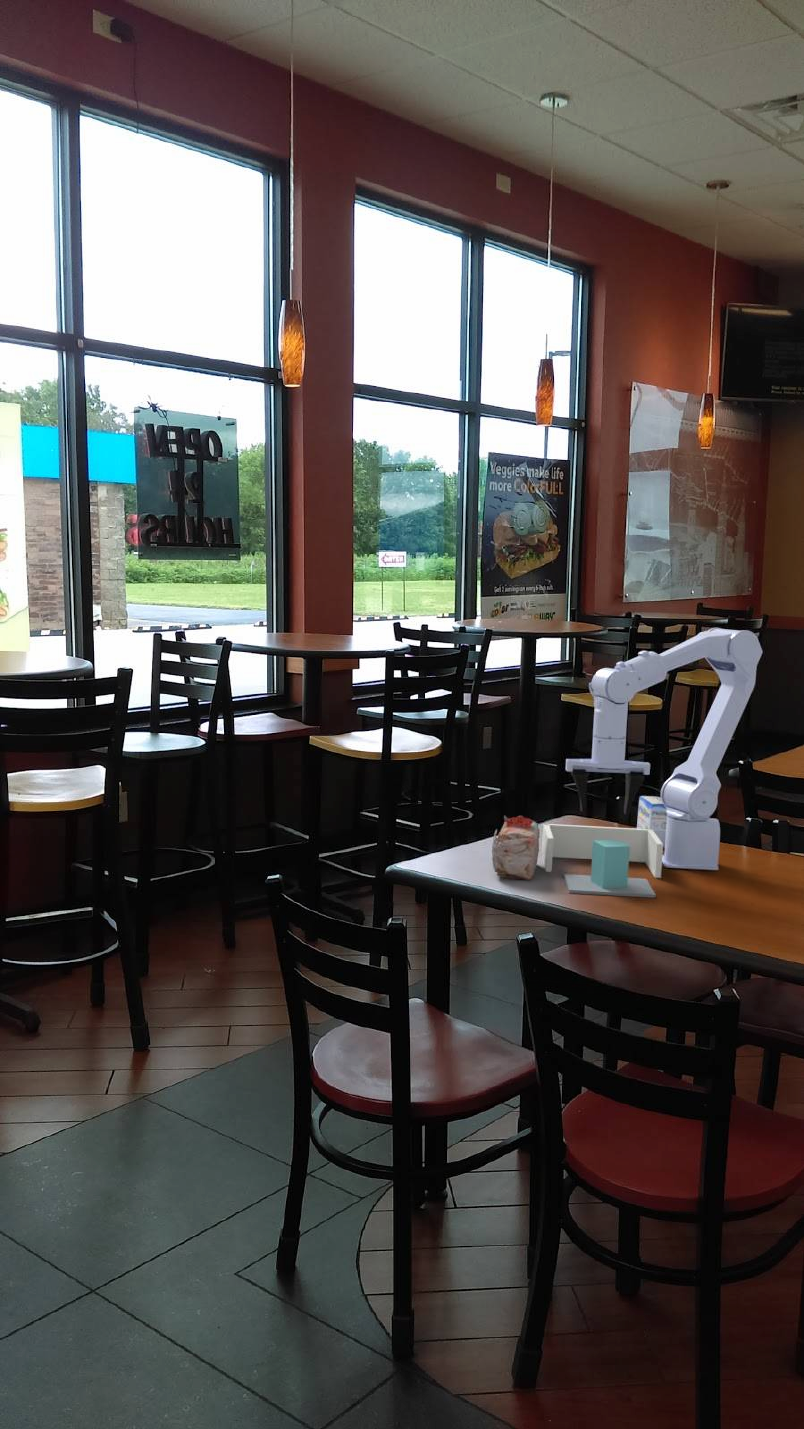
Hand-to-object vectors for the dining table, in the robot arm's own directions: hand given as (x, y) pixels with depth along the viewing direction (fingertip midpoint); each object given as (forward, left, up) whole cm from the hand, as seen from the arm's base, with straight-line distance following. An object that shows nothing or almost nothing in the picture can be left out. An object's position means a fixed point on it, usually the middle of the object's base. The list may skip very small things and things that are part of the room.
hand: (604, 812), depth 200 cm
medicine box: (-13, -24, -11) cm, 29 cm away
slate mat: (0, +12, -10) cm, 16 cm away
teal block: (0, +12, -10) cm, 15 cm away
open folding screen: (0, -2, -10) cm, 11 cm away
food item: (+16, +5, -11) cm, 19 cm away
